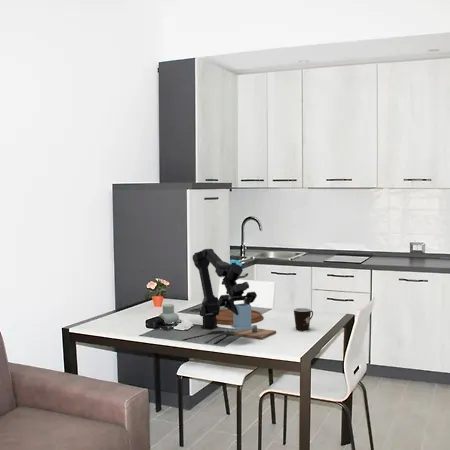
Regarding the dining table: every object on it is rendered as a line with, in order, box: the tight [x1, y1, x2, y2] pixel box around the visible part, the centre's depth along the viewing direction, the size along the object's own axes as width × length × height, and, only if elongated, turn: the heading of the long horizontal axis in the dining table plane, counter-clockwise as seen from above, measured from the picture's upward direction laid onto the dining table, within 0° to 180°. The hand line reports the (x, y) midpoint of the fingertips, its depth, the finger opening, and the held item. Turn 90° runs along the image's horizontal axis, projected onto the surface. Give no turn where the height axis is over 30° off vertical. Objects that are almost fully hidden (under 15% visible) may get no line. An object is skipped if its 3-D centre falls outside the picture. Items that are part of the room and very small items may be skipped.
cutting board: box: [216, 308, 264, 326], centre depth 332 cm, size 32×32×3 cm
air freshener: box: [158, 303, 180, 323], centre depth 321 cm, size 11×8×10 cm
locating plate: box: [232, 324, 277, 341], centre depth 297 cm, size 16×14×4 cm
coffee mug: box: [293, 307, 314, 332], centre depth 305 cm, size 12×9×10 cm
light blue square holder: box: [230, 302, 254, 331], centre depth 282 cm, size 8×8×10 cm
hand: (243, 314), depth 281 cm, fingers closed on light blue square holder, 6 cm apart
